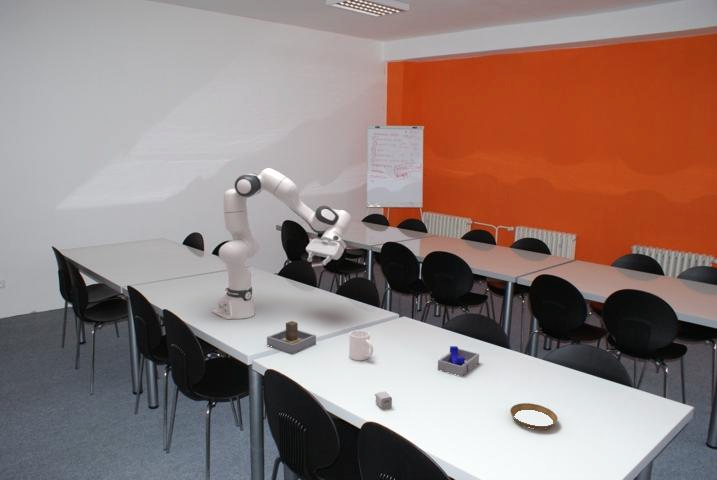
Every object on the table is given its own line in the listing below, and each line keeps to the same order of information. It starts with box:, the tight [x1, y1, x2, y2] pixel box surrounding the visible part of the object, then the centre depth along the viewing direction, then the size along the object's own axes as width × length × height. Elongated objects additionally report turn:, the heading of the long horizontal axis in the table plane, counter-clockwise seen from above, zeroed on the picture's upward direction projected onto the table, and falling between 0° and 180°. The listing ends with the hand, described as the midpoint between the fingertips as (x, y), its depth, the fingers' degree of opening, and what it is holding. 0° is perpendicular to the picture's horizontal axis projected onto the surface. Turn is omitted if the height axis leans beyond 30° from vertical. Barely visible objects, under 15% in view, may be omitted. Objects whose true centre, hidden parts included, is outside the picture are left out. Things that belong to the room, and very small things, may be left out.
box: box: [266, 329, 317, 355], centre depth 234 cm, size 15×15×4 cm
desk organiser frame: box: [437, 348, 480, 377], centre depth 216 cm, size 10×17×4 cm, turn 144°
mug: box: [348, 329, 374, 362], centre depth 221 cm, size 12×8×10 cm
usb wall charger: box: [374, 391, 393, 410], centre depth 184 cm, size 4×7×4 cm, turn 23°
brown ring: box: [509, 402, 558, 430], centre depth 176 cm, size 15×15×3 cm
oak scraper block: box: [282, 320, 301, 344], centre depth 234 cm, size 6×6×9 cm
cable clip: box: [449, 345, 469, 373], centre depth 216 cm, size 12×4×6 cm, turn 4°
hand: (315, 262), depth 253 cm, fingers open, 8 cm apart
